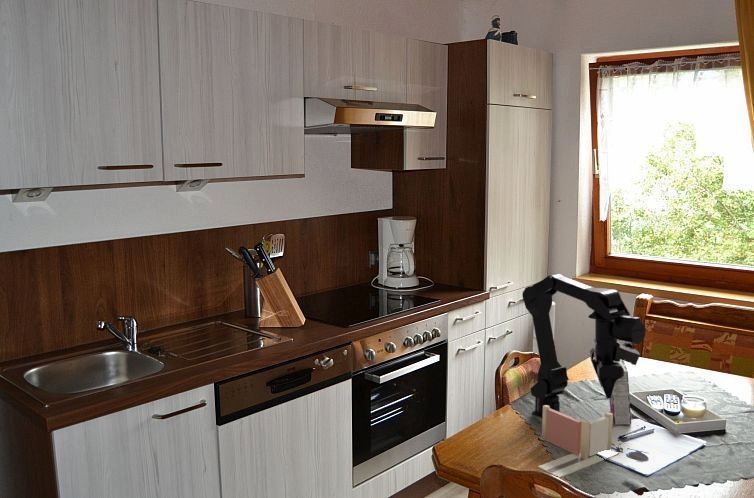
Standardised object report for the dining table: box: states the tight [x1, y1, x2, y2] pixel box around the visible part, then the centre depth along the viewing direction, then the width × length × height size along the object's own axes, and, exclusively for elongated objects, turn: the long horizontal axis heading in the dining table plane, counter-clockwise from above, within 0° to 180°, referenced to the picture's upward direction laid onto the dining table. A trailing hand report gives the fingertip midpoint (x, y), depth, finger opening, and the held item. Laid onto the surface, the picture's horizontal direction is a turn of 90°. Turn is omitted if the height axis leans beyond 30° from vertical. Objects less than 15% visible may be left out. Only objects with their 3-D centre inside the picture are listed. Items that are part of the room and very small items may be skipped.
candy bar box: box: [608, 359, 632, 426], centre depth 207 cm, size 11×5×16 cm, turn 168°
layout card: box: [537, 450, 605, 479], centre depth 182 cm, size 23×7×1 cm, turn 124°
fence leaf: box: [541, 405, 583, 455], centre depth 189 cm, size 13×2×9 cm, turn 34°
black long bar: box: [532, 301, 556, 355], centre depth 248 cm, size 7×7×25 cm
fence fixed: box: [580, 412, 614, 460], centre depth 185 cm, size 11×2×10 cm, turn 124°
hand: (605, 392), depth 192 cm, fingers open, 9 cm apart
